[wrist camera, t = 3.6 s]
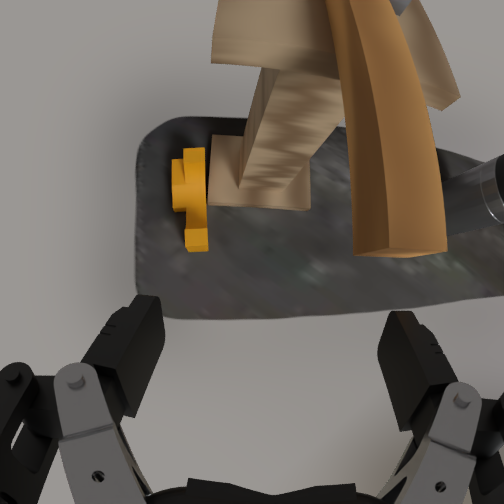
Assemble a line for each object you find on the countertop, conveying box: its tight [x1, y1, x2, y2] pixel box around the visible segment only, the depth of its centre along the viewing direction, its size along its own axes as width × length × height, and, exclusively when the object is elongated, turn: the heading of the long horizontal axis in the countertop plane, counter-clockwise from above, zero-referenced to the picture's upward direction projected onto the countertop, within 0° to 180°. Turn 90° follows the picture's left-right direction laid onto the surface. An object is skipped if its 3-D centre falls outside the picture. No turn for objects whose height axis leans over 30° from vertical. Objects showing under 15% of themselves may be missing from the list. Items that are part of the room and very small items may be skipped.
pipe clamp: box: [172, 148, 208, 252], centre depth 38 cm, size 12×4×6 cm, turn 4°
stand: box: [208, 0, 460, 211], centre depth 28 cm, size 14×10×31 cm
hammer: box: [325, 0, 447, 258], centre depth 10 cm, size 8×19×4 cm, turn 178°
